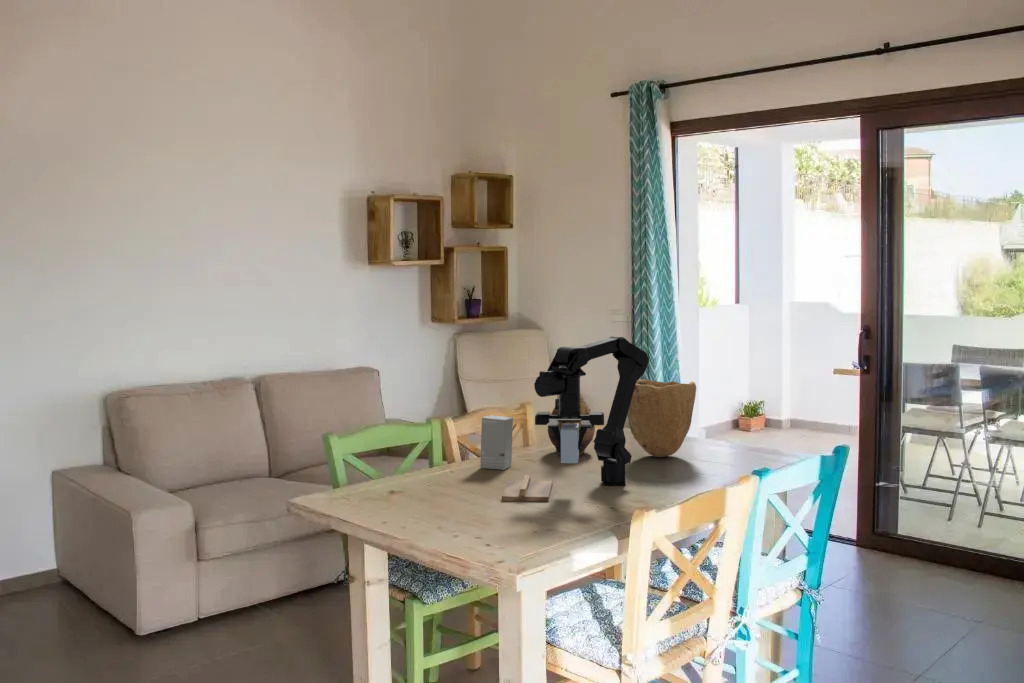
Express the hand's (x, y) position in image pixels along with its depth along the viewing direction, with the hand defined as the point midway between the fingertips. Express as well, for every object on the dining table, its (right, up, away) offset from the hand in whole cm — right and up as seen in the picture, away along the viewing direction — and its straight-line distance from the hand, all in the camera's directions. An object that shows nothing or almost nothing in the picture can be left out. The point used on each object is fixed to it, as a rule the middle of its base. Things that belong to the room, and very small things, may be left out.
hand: (570, 449), depth 268 cm
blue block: (0, -3, 0) cm, 3 cm away
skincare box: (-21, -10, +34) cm, 41 cm away
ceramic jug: (+4, -7, +55) cm, 56 cm away
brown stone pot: (+32, -8, +45) cm, 56 cm away
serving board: (-11, -12, +2) cm, 17 cm away
